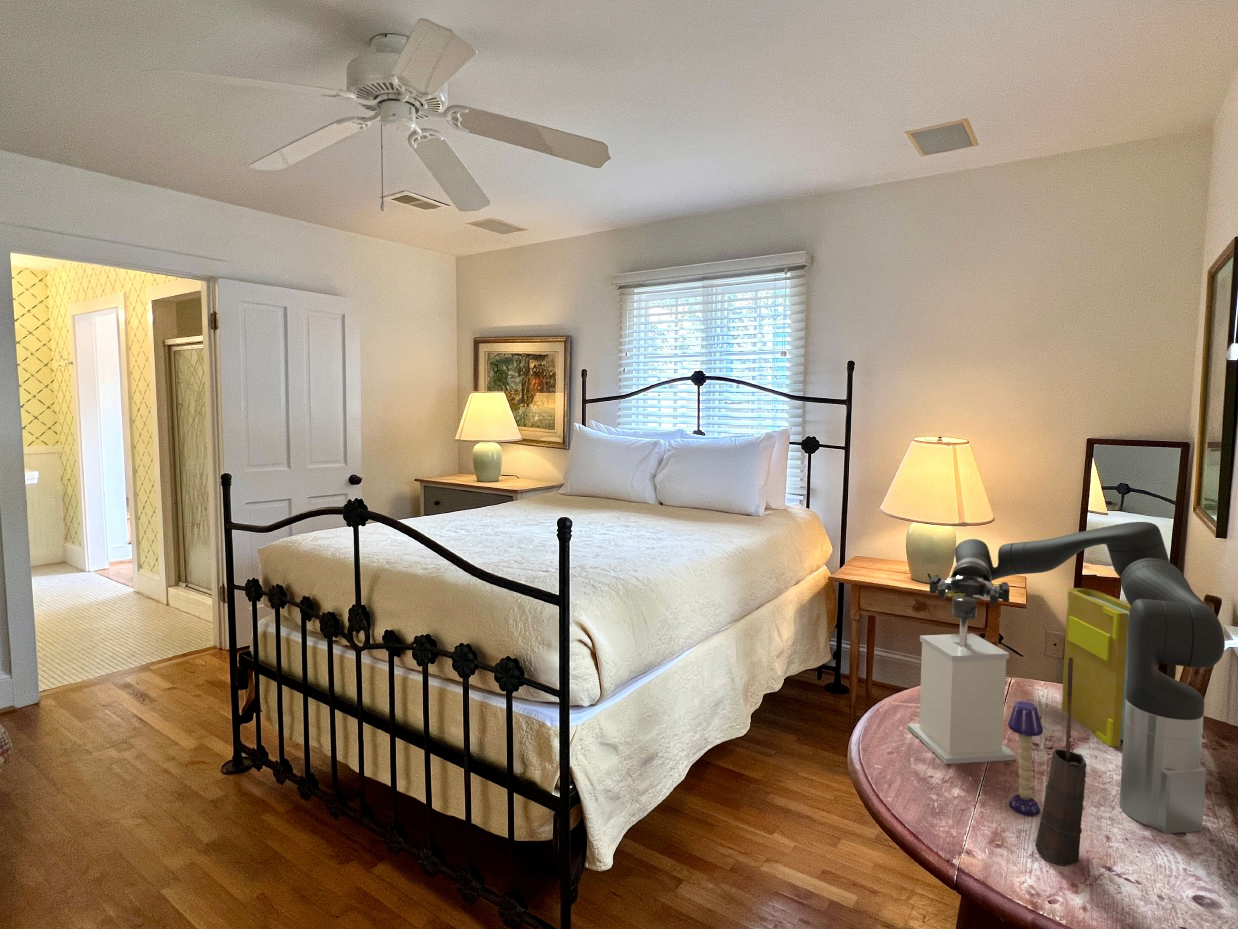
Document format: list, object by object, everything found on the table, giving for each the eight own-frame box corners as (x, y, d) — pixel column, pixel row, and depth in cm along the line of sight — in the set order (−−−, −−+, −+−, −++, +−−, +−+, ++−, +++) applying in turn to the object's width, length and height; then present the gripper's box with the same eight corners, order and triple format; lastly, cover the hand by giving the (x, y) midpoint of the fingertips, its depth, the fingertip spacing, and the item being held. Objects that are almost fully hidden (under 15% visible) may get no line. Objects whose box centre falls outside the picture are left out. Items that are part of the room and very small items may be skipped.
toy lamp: (1005, 811, 106) (1009, 707, 105) (1004, 796, 110) (1008, 696, 109) (1041, 819, 104) (1046, 714, 103) (1039, 804, 108) (1044, 701, 107)
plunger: (993, 745, 124) (999, 605, 121) (951, 748, 123) (956, 606, 120) (966, 724, 131) (972, 592, 129) (927, 727, 131) (931, 594, 128)
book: (1146, 746, 126) (1155, 613, 123) (1109, 746, 126) (1117, 613, 124) (1086, 705, 143) (1092, 588, 140) (1053, 705, 143) (1059, 588, 140)
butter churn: (1103, 893, 89) (1115, 683, 86) (1018, 865, 94) (1027, 667, 92) (1102, 854, 96) (1114, 660, 94) (1024, 830, 102) (1033, 646, 99)
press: (1015, 759, 121) (1020, 655, 120) (945, 764, 120) (949, 659, 118) (971, 725, 134) (974, 631, 133) (907, 729, 133) (910, 633, 131)
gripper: (935, 557, 150) (927, 573, 136) (1010, 564, 143) (1010, 582, 129) (934, 591, 151) (926, 610, 137) (1008, 599, 144) (1008, 621, 129)
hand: (967, 597), depth 133 cm, fingers open, 8 cm apart
